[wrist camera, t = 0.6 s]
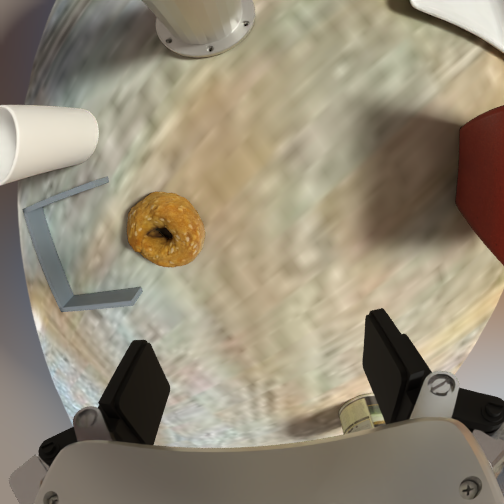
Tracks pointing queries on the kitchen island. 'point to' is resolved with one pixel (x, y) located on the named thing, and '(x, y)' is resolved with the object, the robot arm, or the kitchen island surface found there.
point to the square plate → (470, 16)
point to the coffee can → (360, 414)
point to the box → (54, 267)
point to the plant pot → (483, 178)
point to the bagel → (175, 220)
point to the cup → (43, 139)
